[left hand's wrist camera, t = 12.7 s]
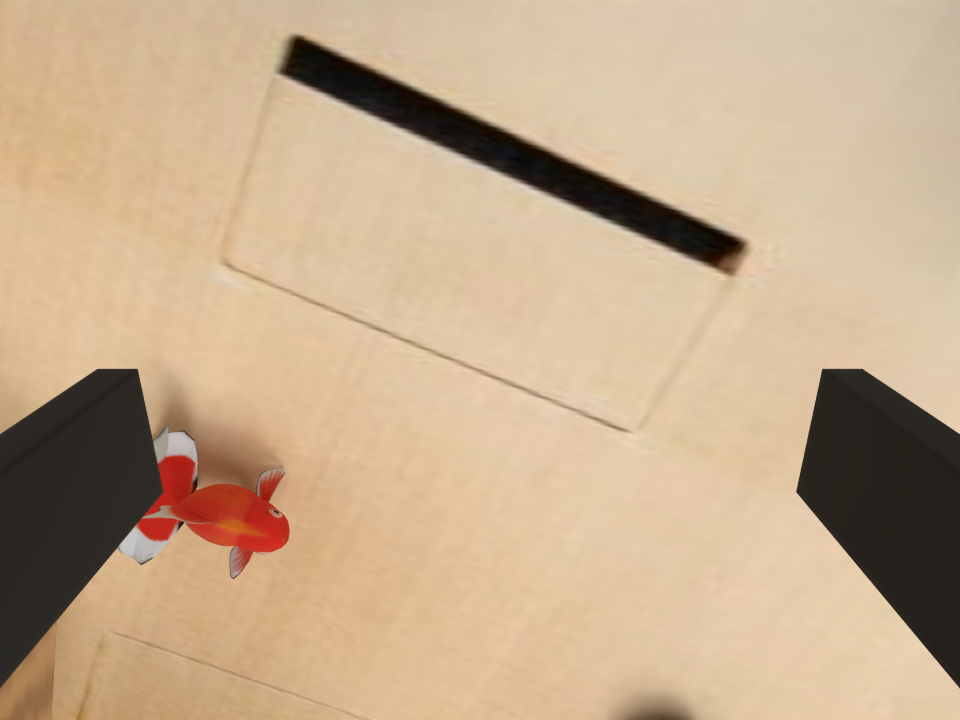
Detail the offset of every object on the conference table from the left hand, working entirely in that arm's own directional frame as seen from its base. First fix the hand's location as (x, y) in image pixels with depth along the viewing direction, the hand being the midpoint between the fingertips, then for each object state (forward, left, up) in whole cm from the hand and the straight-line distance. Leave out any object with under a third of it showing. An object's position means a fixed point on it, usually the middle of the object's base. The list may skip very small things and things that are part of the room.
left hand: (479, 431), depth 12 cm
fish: (+28, +7, -31) cm, 43 cm away
